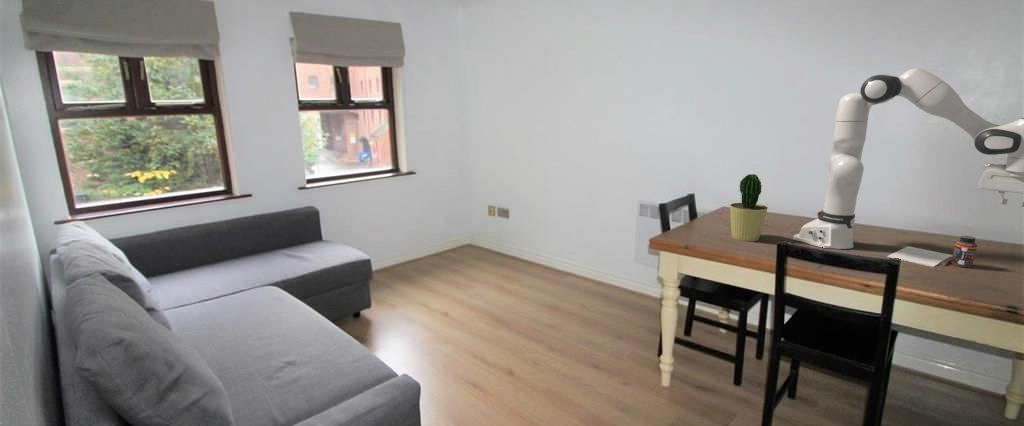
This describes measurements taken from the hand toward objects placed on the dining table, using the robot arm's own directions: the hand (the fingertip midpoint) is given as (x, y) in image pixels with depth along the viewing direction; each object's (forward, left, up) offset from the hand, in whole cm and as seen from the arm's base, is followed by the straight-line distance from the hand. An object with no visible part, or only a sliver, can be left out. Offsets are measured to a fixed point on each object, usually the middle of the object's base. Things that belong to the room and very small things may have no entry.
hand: (1014, 205), depth 169 cm
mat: (-23, 0, -25) cm, 34 cm away
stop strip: (-14, 0, -25) cm, 29 cm away
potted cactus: (-78, -31, -25) cm, 88 cm away
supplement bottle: (-10, 0, -25) cm, 27 cm away
